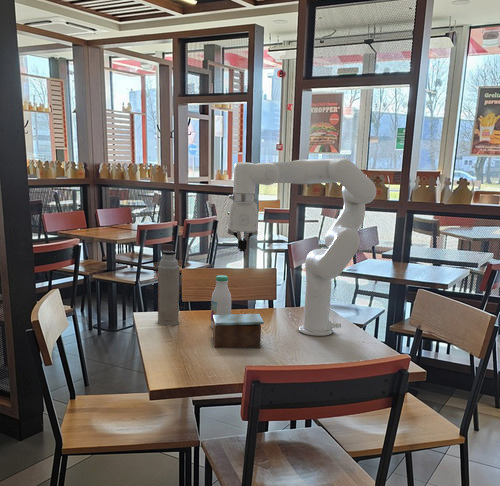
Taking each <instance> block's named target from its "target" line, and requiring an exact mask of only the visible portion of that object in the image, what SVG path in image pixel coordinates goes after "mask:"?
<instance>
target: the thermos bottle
mask: <svg viewBox="0 0 500 486" xmlns="http://www.w3.org/2000/svg"><path fill="white" fill-rule="evenodd" d="M176 254H177V253H176V251H173V250H164V251H162V258H161V259H160V260H159V265H158V267H157V272H158V273H157V274H158V275H157V324H158V325H160V326H170V327H171V326H177V325H179V321H180V317H179V316H180V305H179V303H180V302H179V301H180V265H179V262H178V260H177V258H176Z"/></svg>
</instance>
